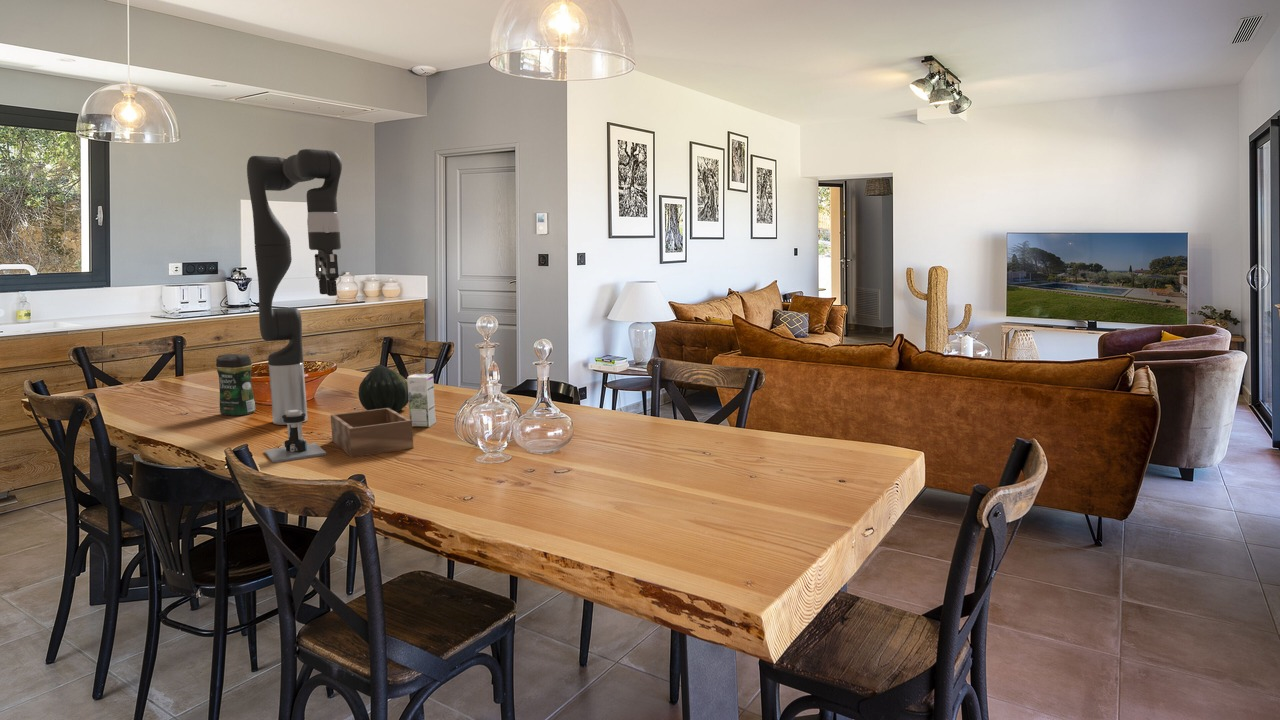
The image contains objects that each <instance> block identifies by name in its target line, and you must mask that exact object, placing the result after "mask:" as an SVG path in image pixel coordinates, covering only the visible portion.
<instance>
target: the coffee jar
mask: <svg viewBox="0 0 1280 720" xmlns="http://www.w3.org/2000/svg"><path fill="white" fill-rule="evenodd" d="M215 361H216V363H215V368H216V371H217V375H218V381H219V413H220V414H221V415H224V416H225V415H226V416H235V417H237V416H243V415H245V416H246V415H250V414H252V413H254V412H255V411H256V404H255V397H254V396H255V395H254V391H253V385H252V368H253V364H252V359H251V356H250V355H248V354H242V353H241V354H239V353H228V354H220V355H218V356H217V357H216V360H215Z"/></svg>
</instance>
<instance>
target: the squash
mask: <svg viewBox="0 0 1280 720" xmlns="http://www.w3.org/2000/svg"><path fill="white" fill-rule="evenodd" d="M406 379H407V378H405V377H404V376H403V375H401V373H398V372H397V371H394V369H393V370H392V369H391V368H389V367H387V366H384V365H382V364H378V365H375V366H374V367H373V368H372V369H371V370H370V371H369V372H368V373H367V374H366V375H365V376H364V378H363V379H362V381H361V382H360V383H359V387H358V399H359V402H360V404H361V406H362V407H363V408H364V409H365V411H366V410H375V409H383V408H390V409H392V410H393V411H395V412H397V413H399V411H401V410H402V409H404V408H405V407H406V406H407V405H408V404H409V399H408V383H407V380H406Z"/></svg>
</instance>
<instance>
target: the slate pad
mask: <svg viewBox="0 0 1280 720" xmlns="http://www.w3.org/2000/svg"><path fill="white" fill-rule="evenodd" d="M306 445H307V450H306V451H303V452H291V451H286V449H284V448H283V447H276V448H270V449H264V453H265V455H266V456H267V457H268V458H269V460H270V461H271V462H272V464H274V463H275V464H276V463H281V462H288V461H293V460H294V461H296V460H302V459H303V460H304V459H307V458H308V459H309V458H314V457H323V456H327V452H326V450H324V449H323V448H322V447H321V446H320V445H319V444H317V442H313V443H306Z"/></svg>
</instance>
